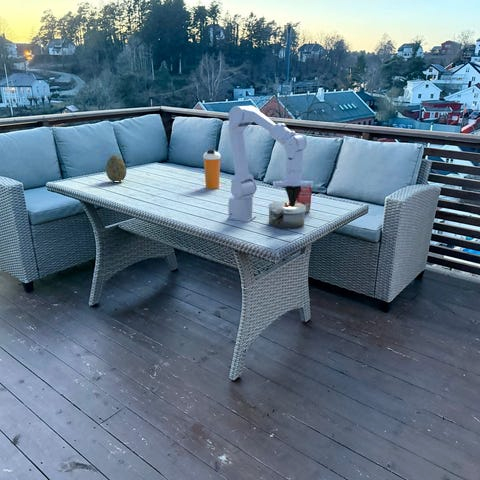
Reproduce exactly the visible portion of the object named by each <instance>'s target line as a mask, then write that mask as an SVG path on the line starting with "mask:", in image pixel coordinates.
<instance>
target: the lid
mask: <svg viewBox="0 0 480 480" xmlns="http://www.w3.org/2000/svg"><path fill="white" fill-rule="evenodd" d="M267 207H268V208H267V209H268V211H269V210H270V211H272V212H274V213H273V217H280V216H281V215H282V214H299V213H303V212H305V211H306V206H305V205H304V204H301V203H298V202H295V206H294V207H290V206H289V200H288V201H286V200H284V201H283V200H281V201H275V202H271V203H269V204H268V206H267Z"/></svg>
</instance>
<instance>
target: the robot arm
mask: <svg viewBox="0 0 480 480" xmlns="http://www.w3.org/2000/svg"><path fill="white" fill-rule="evenodd" d="M227 117H228V122H229V123H228V129H227V130H228V136H229V142H230V149H231V155H232V162H233V169H234V170H233V171H234V175H233V177H232V178H231V187H230V193H231V195H232V196H230V197H229V198H228V199H229V200H228V209H227V211H228V212H227V213H228V214H227V215H228V216H227V219H228V220H233V221H240V222H246V223H249V222H250V221H252V220H253V219H254V218H255V219H256V217H257V216H256V215H255V214H254V215H253V203H254V202H253V198H254V194H255V193H256V192H257V187H258V186H257V183H256V182H255V180H254V179H255V177H254V175H253V174H251V173H250V172H249V171H250V170H249V164H248V157H247V156H248V155H247V150H246V143H245V137H244V131H245V130H246V129H247V127H248V126H250V125H252V124H253V123H255V124H256V125H258V126H259V127H261V128H263V129H265V130H266V131H268V132H269V133H270V137H271V138H272V139H273V140H275V141H277V142H278V143H279V144H280V145H282V146H283V148H284V150H285V156H286V157H285V158H286V159H285V161H286V163H285V180H277V181H272V188H273V189H276V188H284V190H285V192H286V195H287V198H288V201H289V206H290V207H294V206H295V202H296V199H297V197H298V195H299V193H300V192H301V187H311V188H314V181H313V180H302V175H303V173H302V172H303V158H304V150H305V149H306V148H307V145H308V141H307V138H306V137H305V136H304V135H303V134H296V131H295V130H292V129H289V128H288V127H287V125H286V124H285V123H280V122H278V123H275V122H274V121H272V119H270V118H269V117H267V116H266V115H265V114H264V113H262V112H261V111H260V110H259V108H258V107H255V106H254V105H252V104H250V105H234V106H232V108H231V109H230V110H229V112H228V113H227Z"/></svg>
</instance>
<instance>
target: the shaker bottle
mask: <svg viewBox="0 0 480 480" xmlns="http://www.w3.org/2000/svg"><path fill="white" fill-rule="evenodd" d="M216 150H217V149H216V148H209V149H207V150H206V151H205V152H204V153H203V155H202V157H203V166H204V179H205V188H206V189H208V190H216V189H217V190H218V189H220V176H221V175H220V172H221V171H220V169H221V153H220V152H218V151H216Z"/></svg>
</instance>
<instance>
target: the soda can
mask: <svg viewBox="0 0 480 480" xmlns="http://www.w3.org/2000/svg"><path fill="white" fill-rule="evenodd" d="M296 202H298V203H301V204H304V205H305V206H306V211H305V214H306V213H309V212H310V211H311V204H312V187H301V192H300V193H299V195H298V197H297V199H296Z"/></svg>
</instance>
